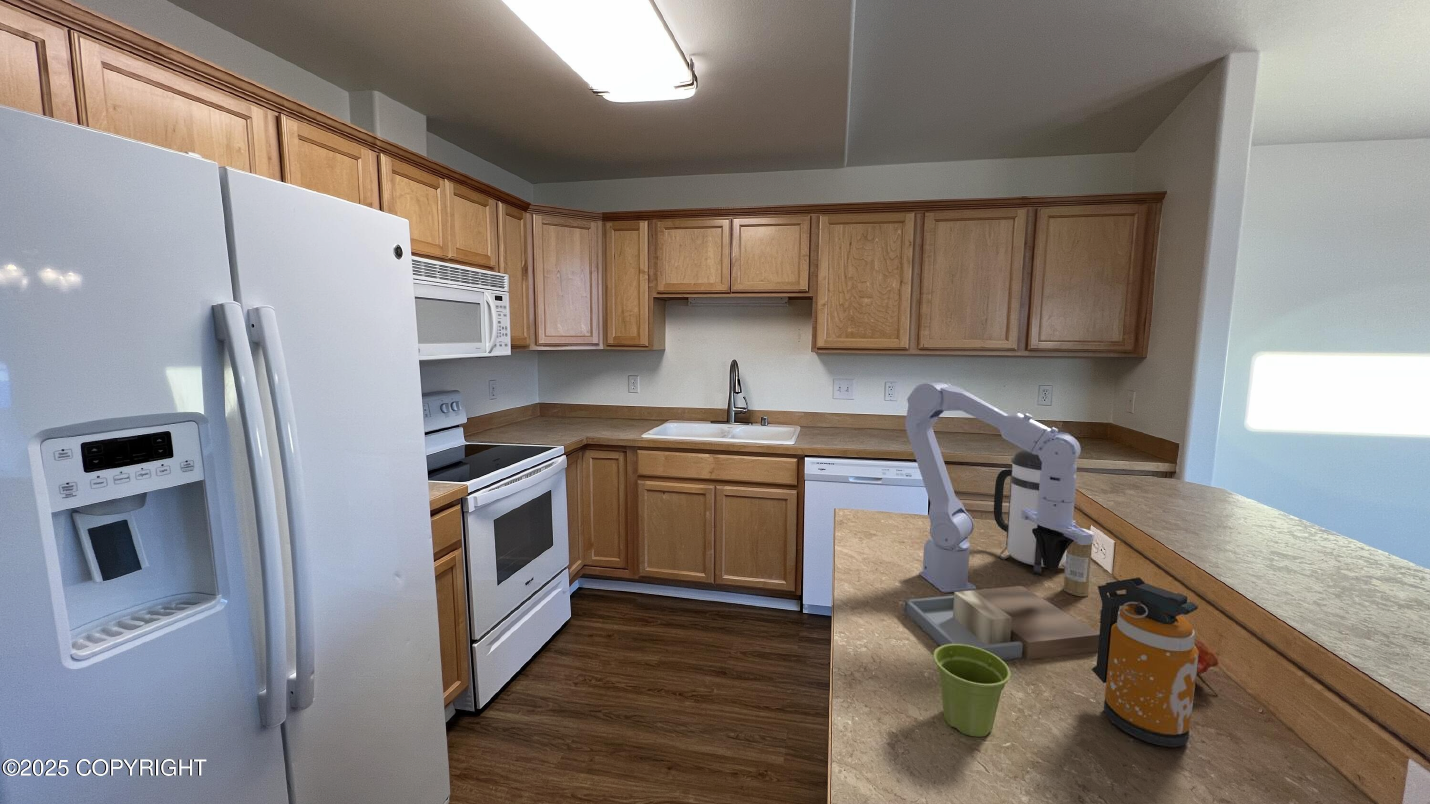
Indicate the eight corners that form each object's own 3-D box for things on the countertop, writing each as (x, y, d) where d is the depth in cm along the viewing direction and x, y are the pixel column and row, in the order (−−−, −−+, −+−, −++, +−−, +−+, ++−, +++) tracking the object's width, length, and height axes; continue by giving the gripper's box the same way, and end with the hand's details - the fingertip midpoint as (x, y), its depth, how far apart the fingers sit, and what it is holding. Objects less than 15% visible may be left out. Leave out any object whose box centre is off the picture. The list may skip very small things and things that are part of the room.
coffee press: (1071, 558, 127) (1081, 437, 123) (1074, 583, 113) (1086, 448, 110) (991, 543, 136) (998, 430, 133) (985, 565, 123) (993, 440, 119)
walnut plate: (958, 605, 104) (959, 591, 103) (1020, 599, 106) (1021, 585, 106) (1027, 659, 86) (1028, 642, 86) (1099, 650, 89) (1101, 634, 88)
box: (904, 612, 101) (905, 599, 101) (957, 607, 103) (958, 595, 103) (960, 665, 85) (960, 650, 84) (1021, 657, 87) (1022, 643, 86)
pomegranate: (1215, 695, 81) (1159, 632, 87) (1254, 679, 76) (1191, 614, 82) (1182, 710, 79) (1127, 645, 85) (1220, 695, 74) (1159, 626, 80)
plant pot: (922, 695, 77) (925, 640, 76) (988, 700, 76) (992, 645, 75) (943, 744, 68) (946, 682, 67) (1019, 750, 67) (1023, 687, 66)
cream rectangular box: (971, 615, 100) (952, 617, 99) (973, 590, 99) (954, 592, 98) (1009, 644, 90) (989, 647, 89) (1011, 617, 89) (991, 619, 88)
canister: (1168, 761, 65) (1185, 610, 63) (1074, 706, 75) (1085, 574, 73) (1201, 736, 69) (1218, 593, 67) (1107, 687, 79) (1119, 561, 77)
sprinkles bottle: (1092, 593, 109) (1098, 531, 107) (1082, 599, 106) (1088, 536, 105) (1068, 585, 113) (1073, 525, 111) (1058, 590, 110) (1063, 529, 109)
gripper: (1109, 509, 92) (1102, 582, 93) (1044, 486, 106) (1040, 550, 108) (1074, 511, 91) (1067, 585, 92) (1013, 488, 105) (1009, 552, 106)
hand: (1050, 567), depth 100 cm, fingers closed
